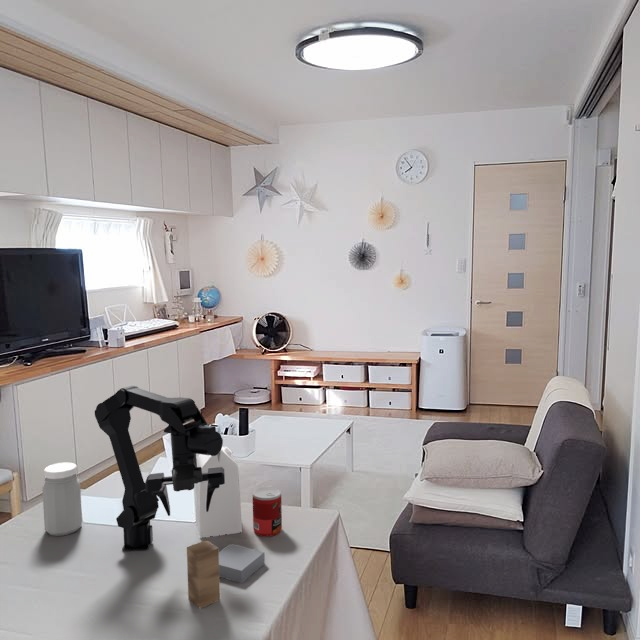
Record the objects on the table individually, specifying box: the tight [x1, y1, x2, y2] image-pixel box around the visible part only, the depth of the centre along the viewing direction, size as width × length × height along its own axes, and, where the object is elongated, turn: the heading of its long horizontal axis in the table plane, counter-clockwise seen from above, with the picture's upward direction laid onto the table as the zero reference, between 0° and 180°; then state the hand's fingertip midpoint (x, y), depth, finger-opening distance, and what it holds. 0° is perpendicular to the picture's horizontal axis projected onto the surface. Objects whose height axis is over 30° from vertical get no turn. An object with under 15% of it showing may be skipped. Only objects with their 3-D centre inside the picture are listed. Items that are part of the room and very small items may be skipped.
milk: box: [195, 445, 243, 539], centre depth 170 cm, size 12×12×26 cm
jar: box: [41, 461, 83, 537], centre depth 169 cm, size 10×10×18 cm
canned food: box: [252, 487, 283, 538], centre depth 168 cm, size 8×8×11 cm
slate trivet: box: [219, 543, 266, 584], centre depth 148 cm, size 10×10×3 cm
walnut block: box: [186, 539, 221, 609], centre depth 134 cm, size 5×5×12 cm
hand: (188, 513), depth 149 cm, fingers open, 9 cm apart
